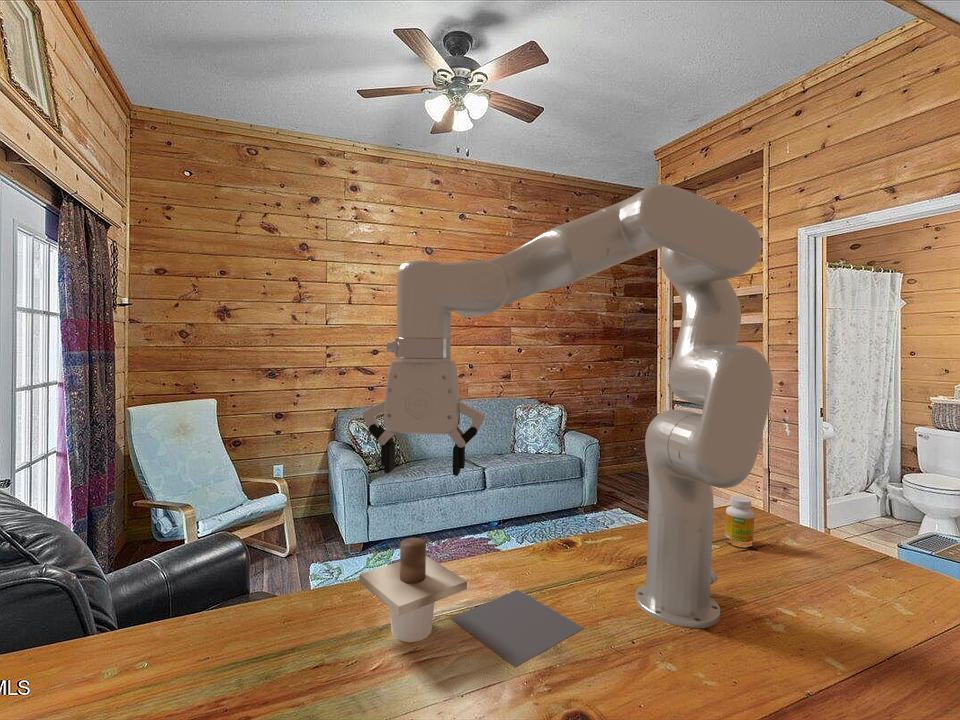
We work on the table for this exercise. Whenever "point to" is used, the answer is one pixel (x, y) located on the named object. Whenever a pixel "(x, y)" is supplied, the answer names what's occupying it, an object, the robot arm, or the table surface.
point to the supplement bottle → (739, 520)
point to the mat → (516, 626)
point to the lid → (412, 579)
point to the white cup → (412, 624)
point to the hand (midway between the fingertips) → (423, 472)
